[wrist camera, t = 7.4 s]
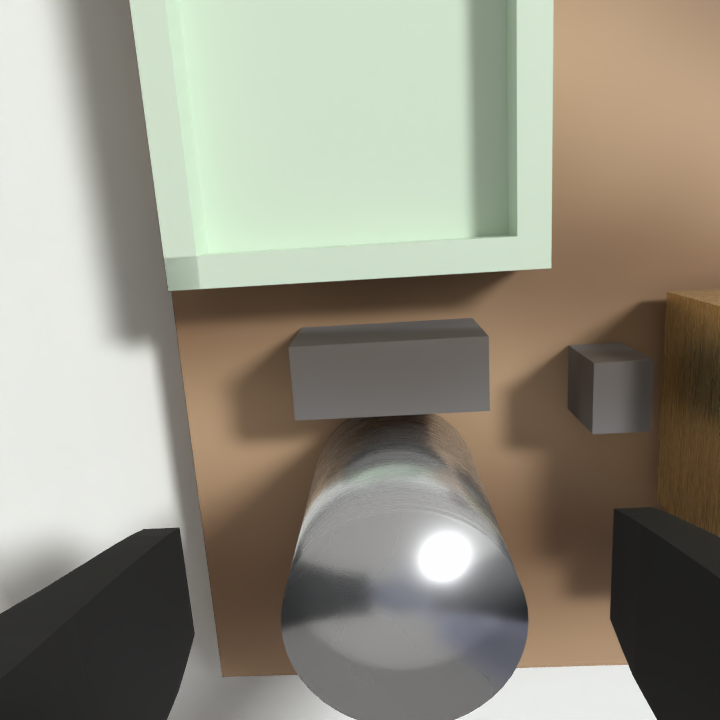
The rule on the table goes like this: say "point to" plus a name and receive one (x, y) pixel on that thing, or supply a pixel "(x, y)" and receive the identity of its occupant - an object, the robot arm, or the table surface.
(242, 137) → the tray
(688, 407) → the tan rectangular block
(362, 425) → the shiny metal cylinder
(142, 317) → the table surface
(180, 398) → the table surface
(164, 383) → the table surface
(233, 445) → the board
